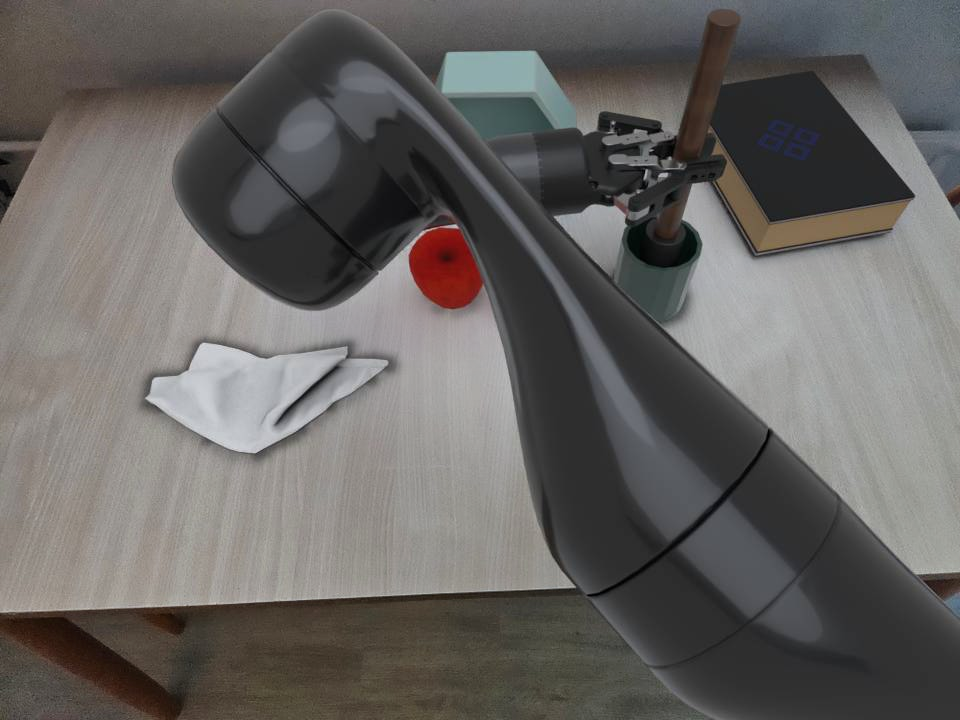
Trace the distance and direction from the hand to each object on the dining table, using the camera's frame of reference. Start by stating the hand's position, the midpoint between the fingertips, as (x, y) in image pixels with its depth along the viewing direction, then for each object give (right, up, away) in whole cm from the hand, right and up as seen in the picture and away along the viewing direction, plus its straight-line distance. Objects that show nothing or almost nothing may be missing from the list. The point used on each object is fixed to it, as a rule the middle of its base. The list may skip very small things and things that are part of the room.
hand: (717, 155), depth 59 cm
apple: (-25, -11, +18) cm, 33 cm away
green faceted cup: (-2, -11, +16) cm, 20 cm away
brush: (-2, -9, +12) cm, 15 cm away
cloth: (-45, -23, +11) cm, 52 cm away
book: (+17, +5, +26) cm, 32 cm away
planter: (-19, +4, +27) cm, 33 cm away
